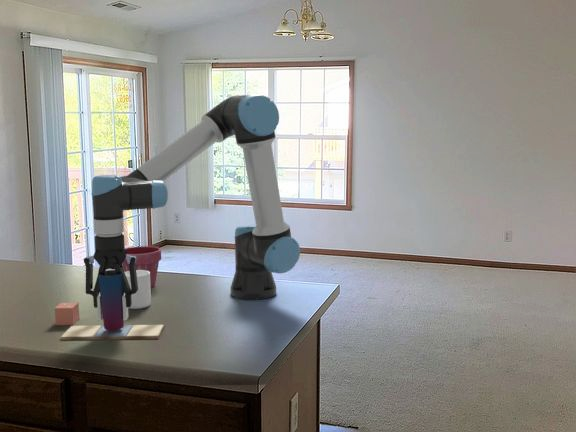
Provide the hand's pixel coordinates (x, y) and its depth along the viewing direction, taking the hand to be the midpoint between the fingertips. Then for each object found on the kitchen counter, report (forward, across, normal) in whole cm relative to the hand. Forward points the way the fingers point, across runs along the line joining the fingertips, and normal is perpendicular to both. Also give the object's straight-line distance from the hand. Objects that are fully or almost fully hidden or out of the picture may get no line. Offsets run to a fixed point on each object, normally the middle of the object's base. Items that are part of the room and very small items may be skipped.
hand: (113, 318), depth 165 cm
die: (+4, +16, -10) cm, 19 cm away
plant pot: (+4, +2, -48) cm, 48 cm away
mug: (+4, 0, -24) cm, 24 cm away
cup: (+3, 0, 0) cm, 3 cm away
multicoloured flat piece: (+4, 0, 0) cm, 4 cm away
